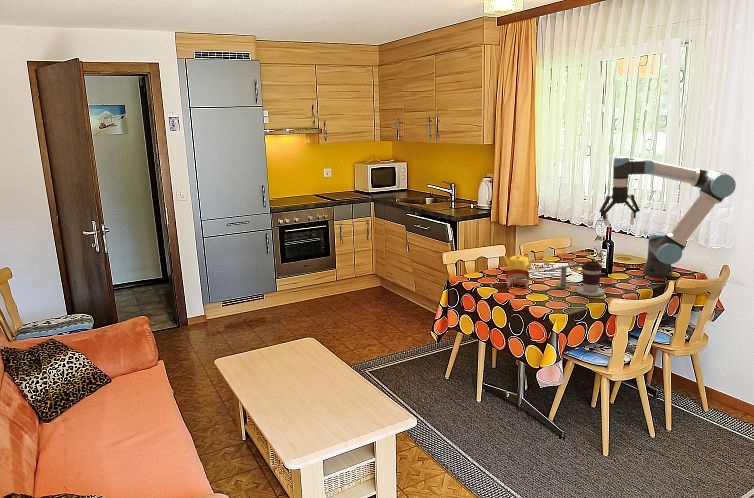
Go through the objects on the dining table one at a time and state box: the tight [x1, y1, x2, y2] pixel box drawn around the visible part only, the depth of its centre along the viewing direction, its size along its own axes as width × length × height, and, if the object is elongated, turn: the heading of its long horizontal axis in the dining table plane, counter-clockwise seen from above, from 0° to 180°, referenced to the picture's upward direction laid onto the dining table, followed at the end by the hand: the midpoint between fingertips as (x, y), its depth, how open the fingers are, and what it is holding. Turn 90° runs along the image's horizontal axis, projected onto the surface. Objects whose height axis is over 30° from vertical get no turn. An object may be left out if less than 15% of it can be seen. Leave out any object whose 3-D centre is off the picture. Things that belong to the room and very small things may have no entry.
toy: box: [505, 269, 530, 290], centre depth 307 cm, size 12×10×8 cm
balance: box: [543, 261, 583, 289], centre depth 301 cm, size 21×6×13 cm, turn 82°
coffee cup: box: [581, 260, 603, 292], centre depth 289 cm, size 10×10×15 cm
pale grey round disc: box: [575, 286, 606, 297], centre depth 291 cm, size 14×14×1 cm
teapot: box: [502, 253, 535, 272], centre depth 332 cm, size 15×14×10 cm
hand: (618, 225), depth 302 cm, fingers open, 13 cm apart
